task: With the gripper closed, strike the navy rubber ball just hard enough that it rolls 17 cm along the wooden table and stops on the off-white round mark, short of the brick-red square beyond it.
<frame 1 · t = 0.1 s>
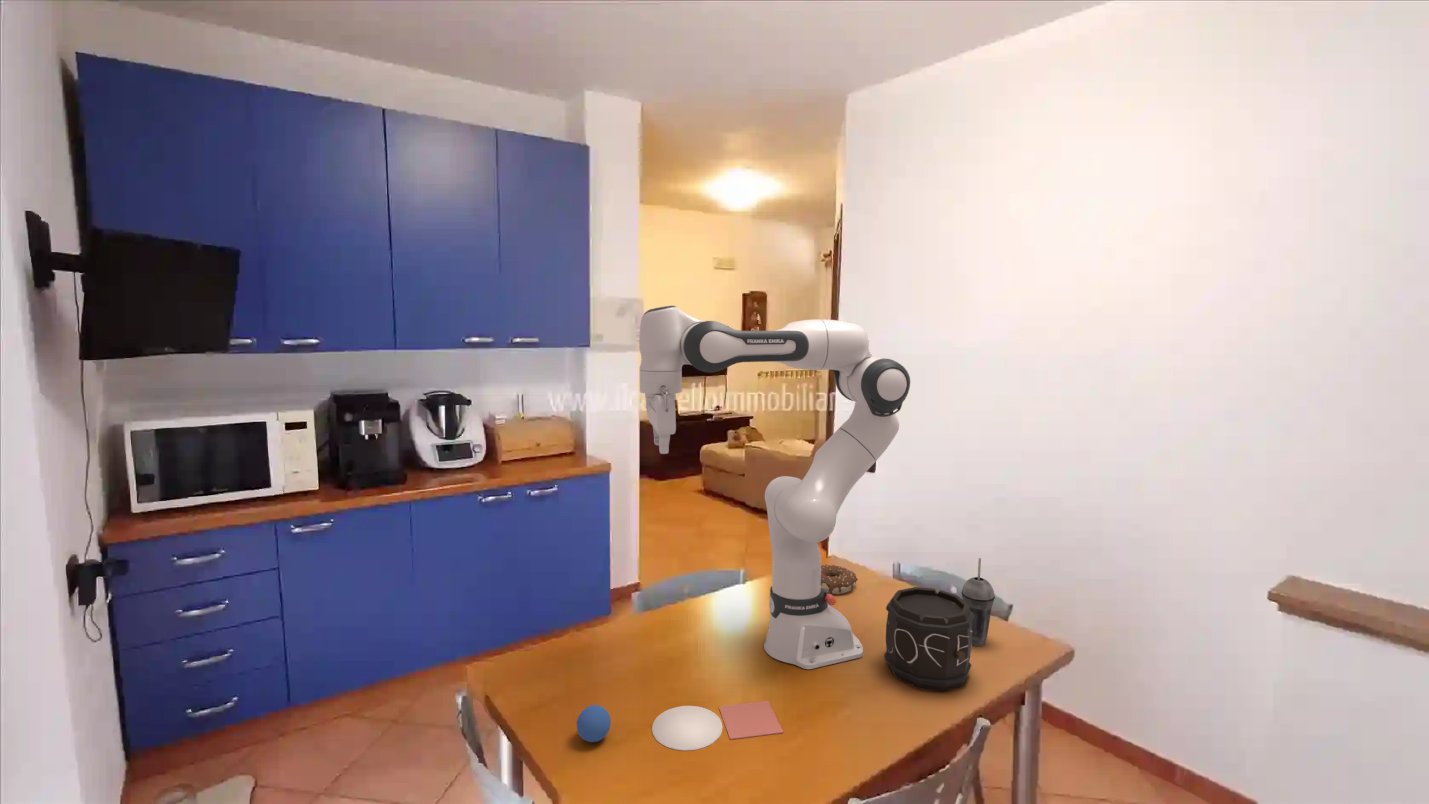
hand: (661, 448, 136), 48 cm above the table, tool pointing down, fingers open, 8 cm apart
beverage cup: (975, 642, 151), on the table
wooden barrel: (927, 672, 138), on the table
donut: (832, 587, 183), on the table
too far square: (750, 719, 121), on the table
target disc: (687, 727, 119), on the table
ball: (593, 723, 115), on the table
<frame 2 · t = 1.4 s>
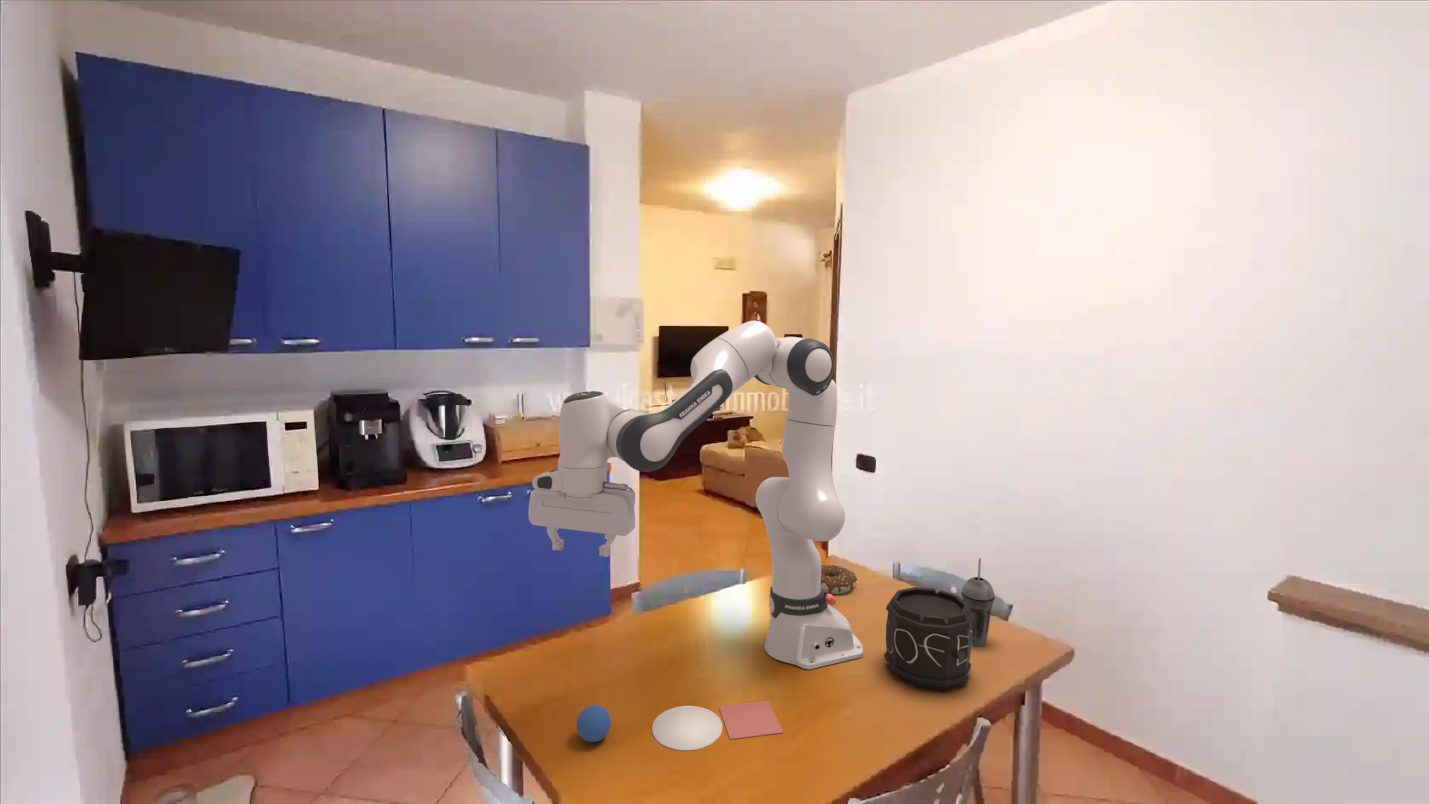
hand: (581, 552, 119), 32 cm above the table, tool pointing down, fingers open, 8 cm apart
nothing on the table moved.
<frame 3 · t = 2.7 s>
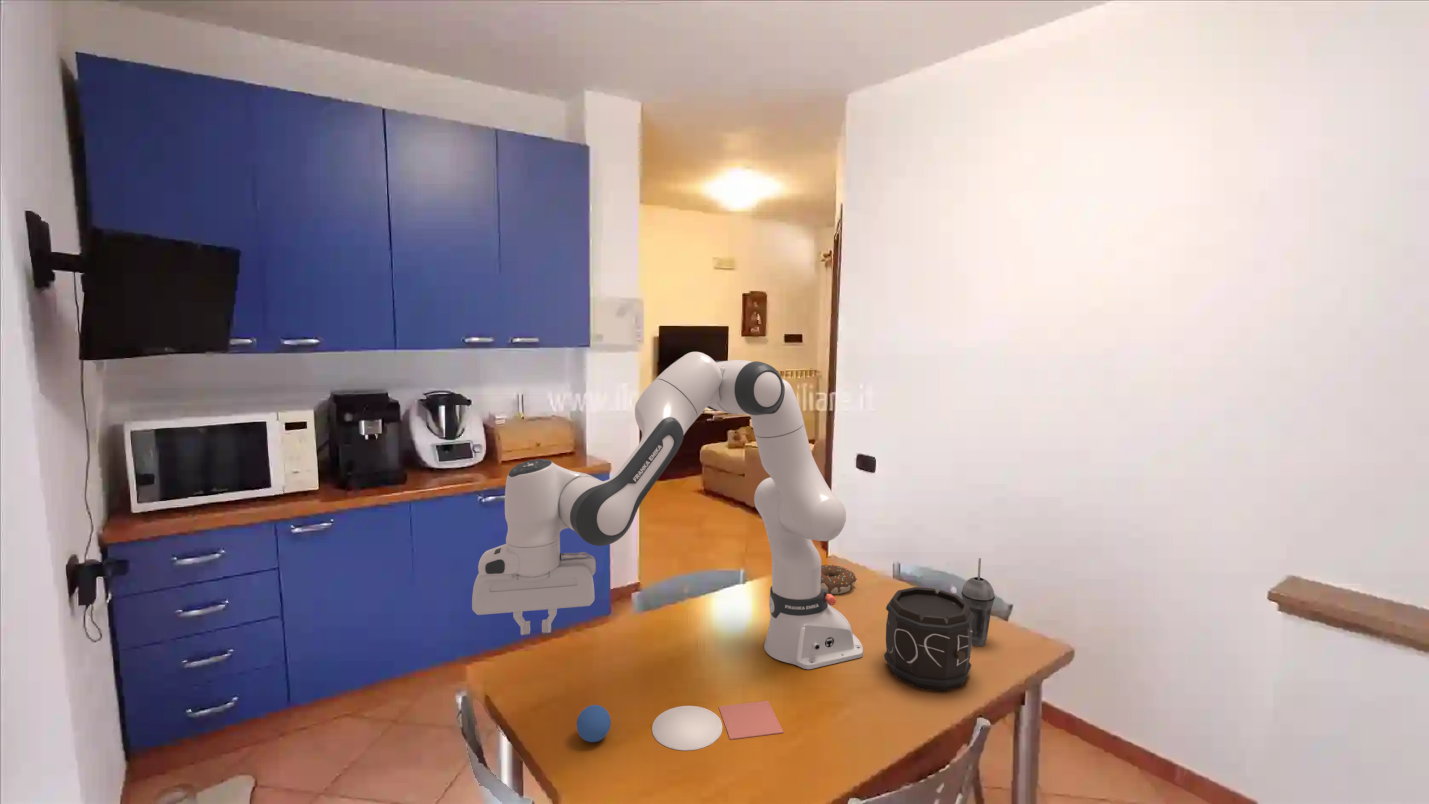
hand: (536, 632, 111), 21 cm above the table, tool pointing down, fingers closed
nothing on the table moved.
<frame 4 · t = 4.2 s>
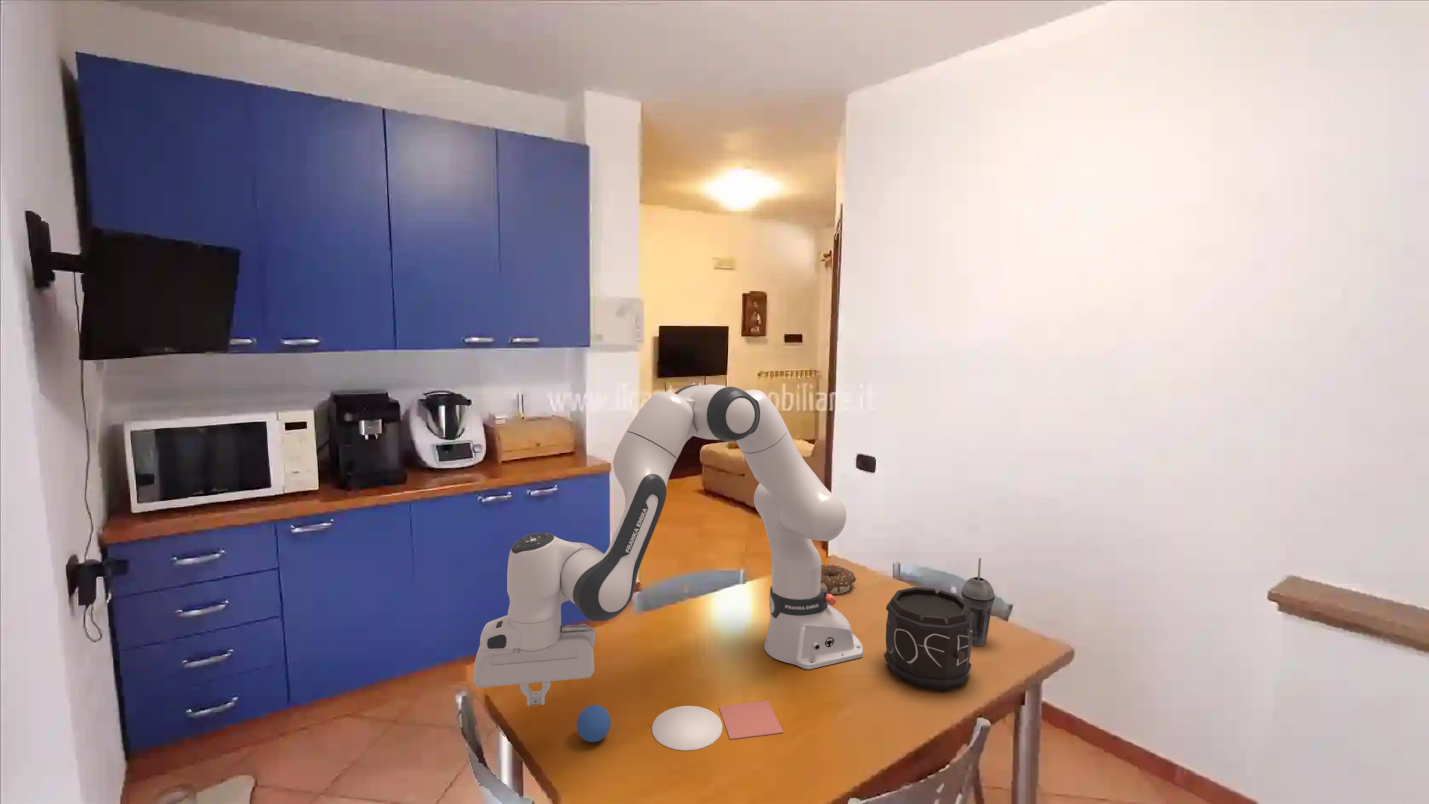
hand: (536, 703, 112), 8 cm above the table, tool pointing down, fingers closed
nothing on the table moved.
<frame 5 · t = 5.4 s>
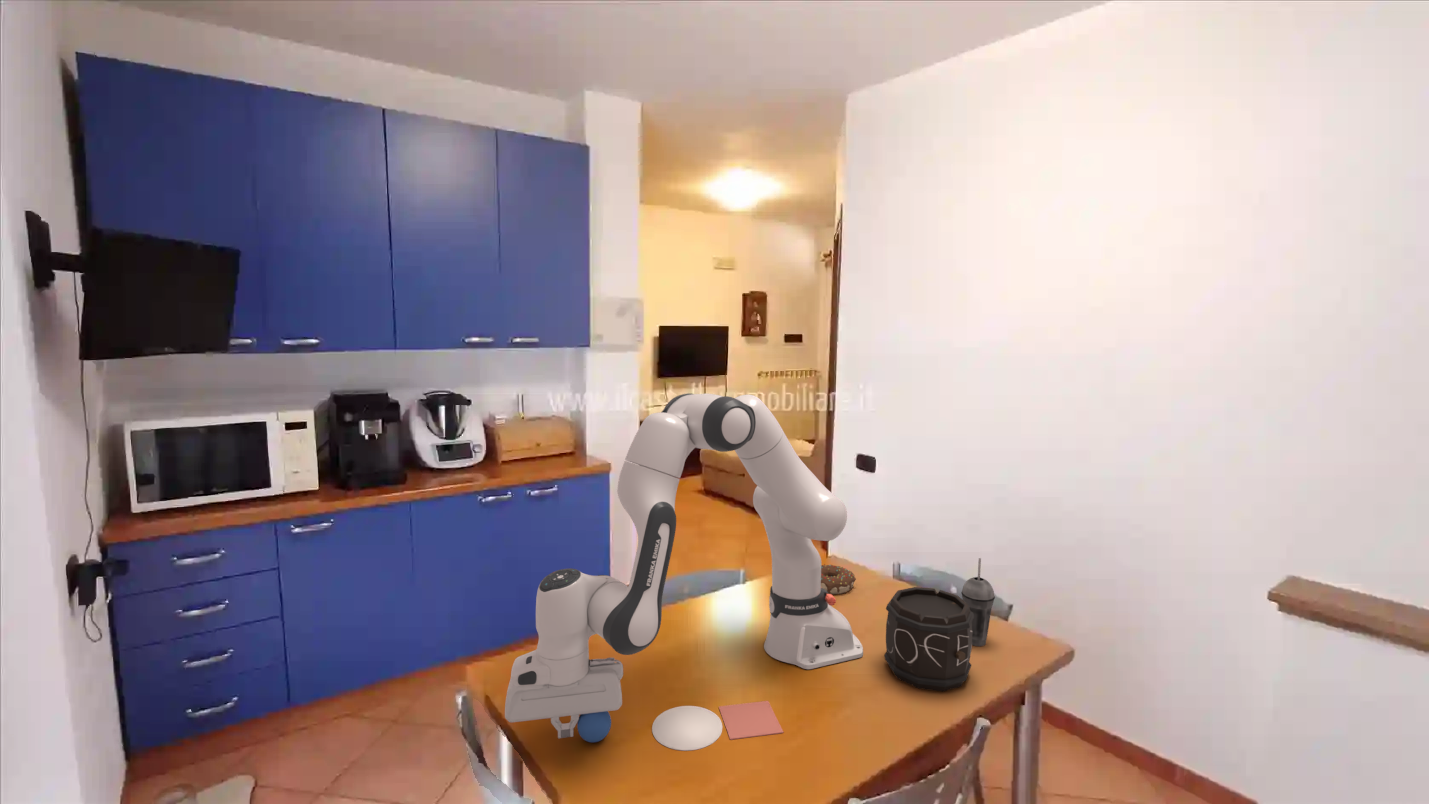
hand: (565, 735, 114), 1 cm above the table, tool pointing down, fingers closed
ball: (594, 723, 115), on the table, touching gripper
everything else where it was.
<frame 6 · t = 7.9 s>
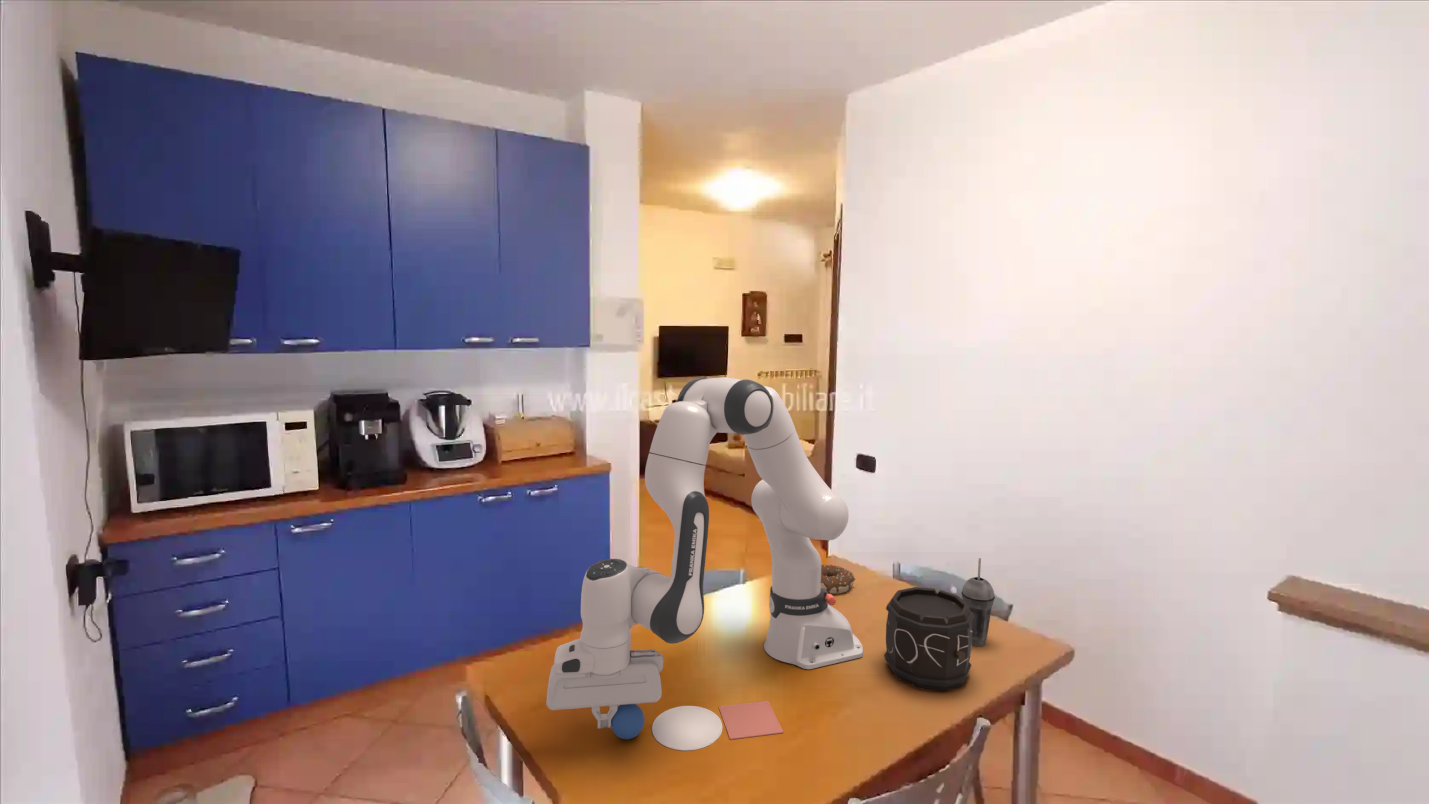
hand: (604, 726, 115), 2 cm above the table, tool pointing down, fingers closed
ball: (627, 720, 116), on the table, touching gripper
everything else where it was.
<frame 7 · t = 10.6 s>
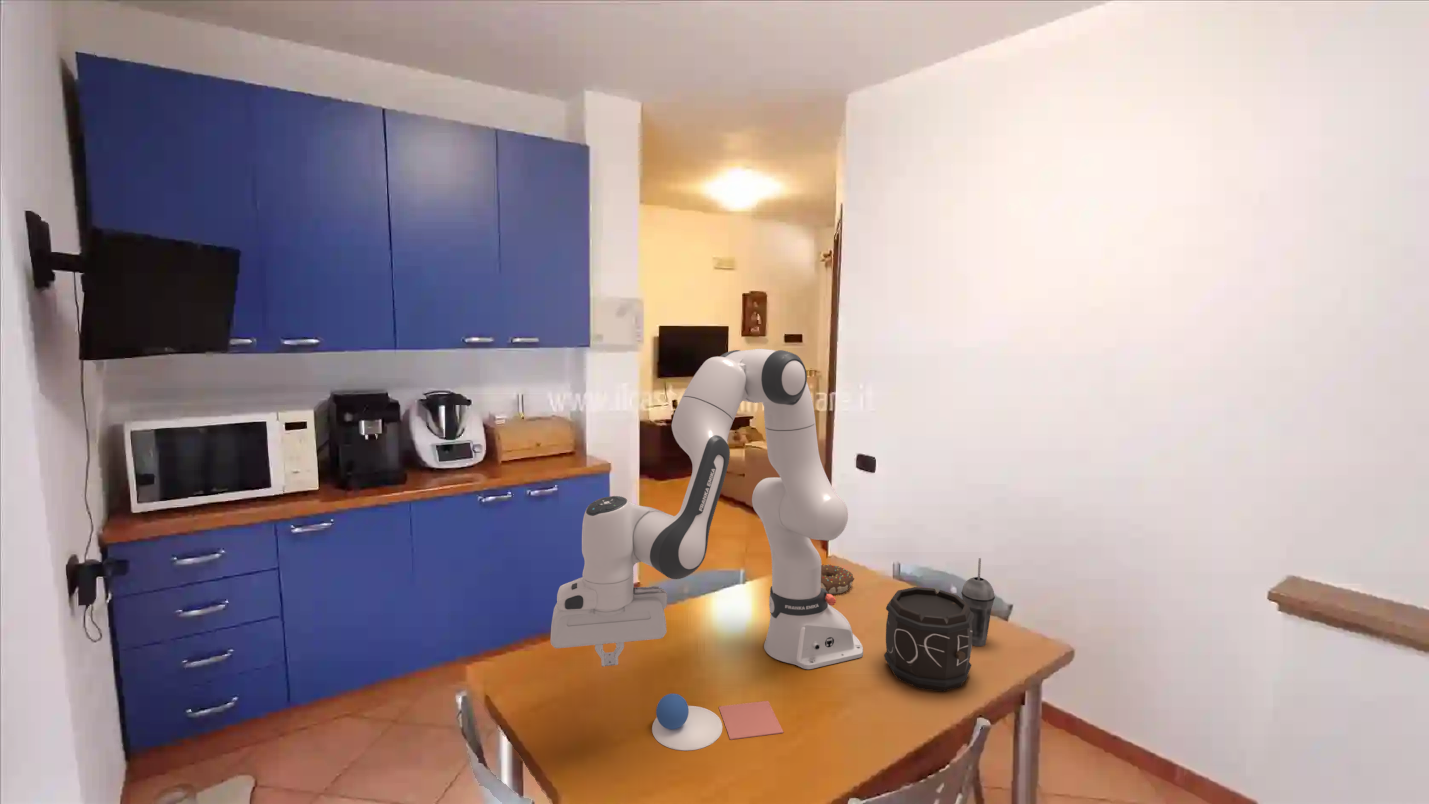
hand: (609, 664, 114), 14 cm above the table, tool pointing down, fingers closed
ball: (672, 711, 118), on the table
everything else where it was.
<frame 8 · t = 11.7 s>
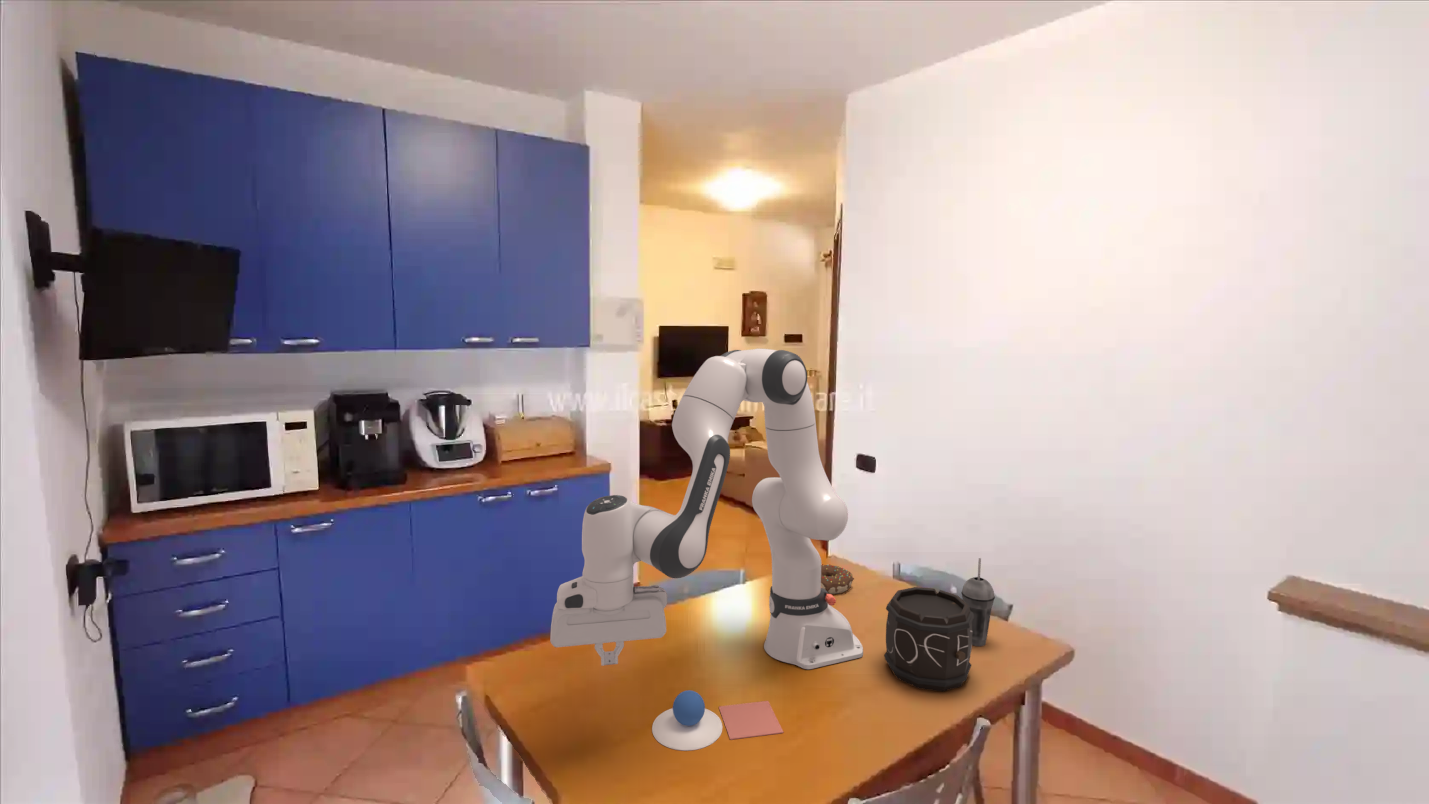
hand: (609, 663, 114), 14 cm above the table, tool pointing down, fingers closed
ball: (688, 707, 120), on the table
at the end: ball 1.4 cm from the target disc (horizontally); ball at rest at the end (0.0 cm/s); ball moved 17.5 cm from its start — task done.
